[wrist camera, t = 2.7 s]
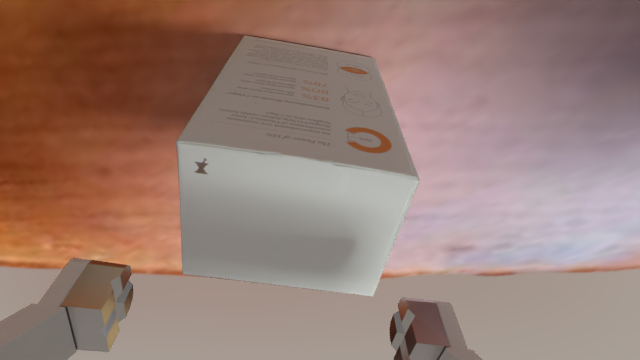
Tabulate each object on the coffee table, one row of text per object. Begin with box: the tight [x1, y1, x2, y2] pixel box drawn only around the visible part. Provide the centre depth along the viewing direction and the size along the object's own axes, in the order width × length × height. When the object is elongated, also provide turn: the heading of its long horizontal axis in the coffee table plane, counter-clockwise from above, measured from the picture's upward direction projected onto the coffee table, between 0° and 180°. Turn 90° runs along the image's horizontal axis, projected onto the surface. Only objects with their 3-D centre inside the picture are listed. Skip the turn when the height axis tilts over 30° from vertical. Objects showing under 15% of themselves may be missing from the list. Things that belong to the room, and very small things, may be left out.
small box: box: [176, 36, 420, 297], centre depth 20 cm, size 8×6×13 cm
